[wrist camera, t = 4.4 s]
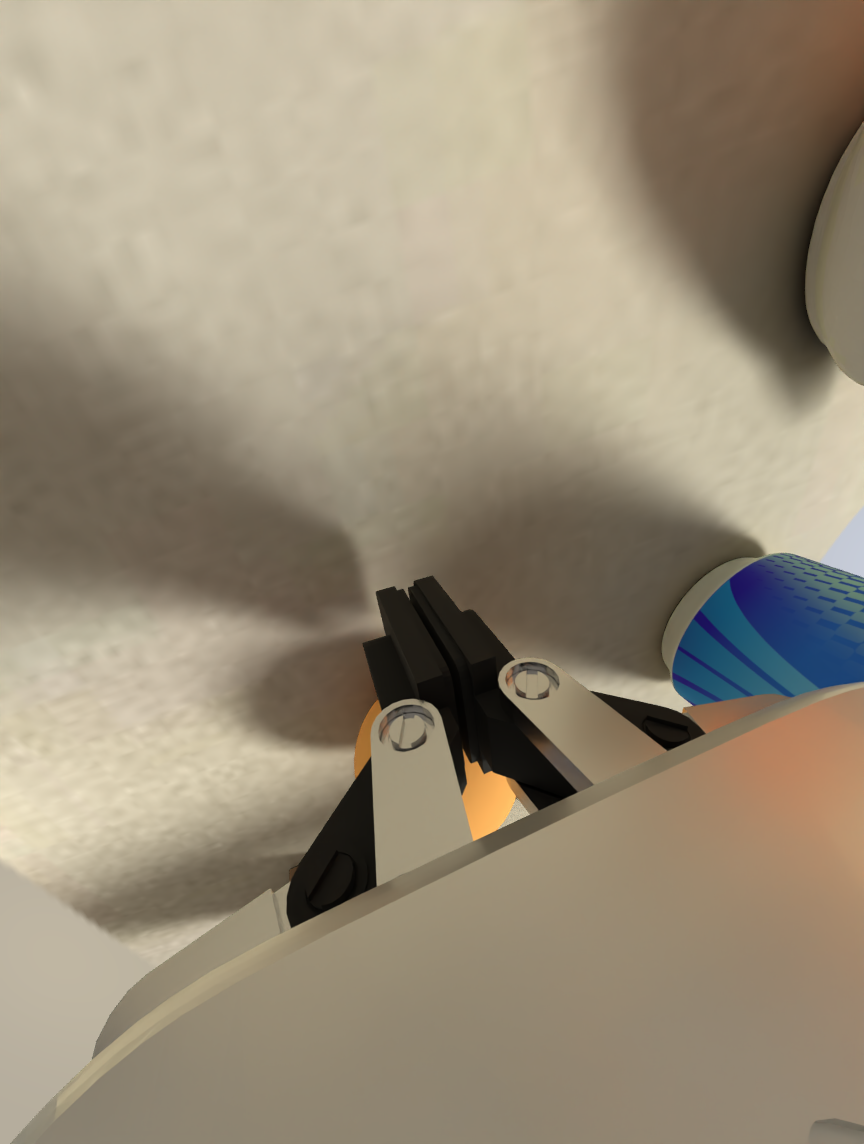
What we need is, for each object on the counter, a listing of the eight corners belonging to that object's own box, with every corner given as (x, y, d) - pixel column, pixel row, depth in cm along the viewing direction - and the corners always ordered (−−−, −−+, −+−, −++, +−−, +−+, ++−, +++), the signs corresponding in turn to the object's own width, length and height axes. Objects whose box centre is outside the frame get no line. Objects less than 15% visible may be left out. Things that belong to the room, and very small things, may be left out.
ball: (379, 932, 9) (377, 852, 14) (581, 839, 10) (511, 796, 15) (328, 694, 10) (343, 700, 16) (508, 640, 12) (467, 662, 17)
